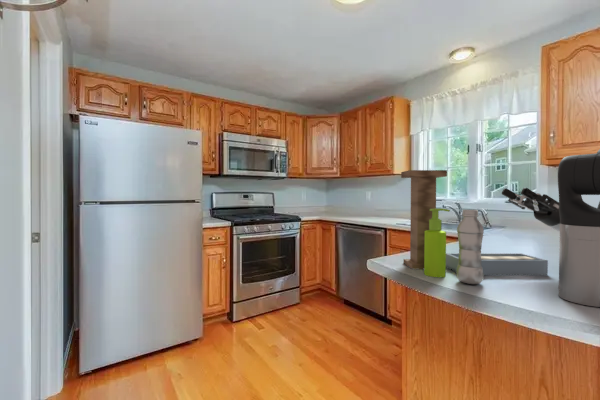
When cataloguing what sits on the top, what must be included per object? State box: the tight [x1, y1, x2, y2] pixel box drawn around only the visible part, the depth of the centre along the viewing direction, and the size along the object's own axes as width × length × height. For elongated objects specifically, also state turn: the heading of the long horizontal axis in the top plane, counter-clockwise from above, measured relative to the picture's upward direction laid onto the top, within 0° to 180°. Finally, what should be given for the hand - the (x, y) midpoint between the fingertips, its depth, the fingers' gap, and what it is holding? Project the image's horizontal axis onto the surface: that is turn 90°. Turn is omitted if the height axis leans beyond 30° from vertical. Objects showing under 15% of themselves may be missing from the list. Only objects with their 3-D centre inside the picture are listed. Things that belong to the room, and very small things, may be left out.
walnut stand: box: [400, 169, 448, 270], centre depth 99 cm, size 12×8×32 cm, turn 90°
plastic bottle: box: [455, 209, 485, 285], centre depth 80 cm, size 6×7×20 cm
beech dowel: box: [481, 256, 535, 260], centre depth 93 cm, size 20×4×4 cm, turn 90°
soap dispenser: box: [423, 207, 451, 278], centre depth 89 cm, size 6×7×20 cm
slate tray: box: [446, 252, 549, 276], centre depth 94 cm, size 26×11×4 cm, turn 90°
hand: (512, 190), depth 93 cm, fingers open, 8 cm apart
